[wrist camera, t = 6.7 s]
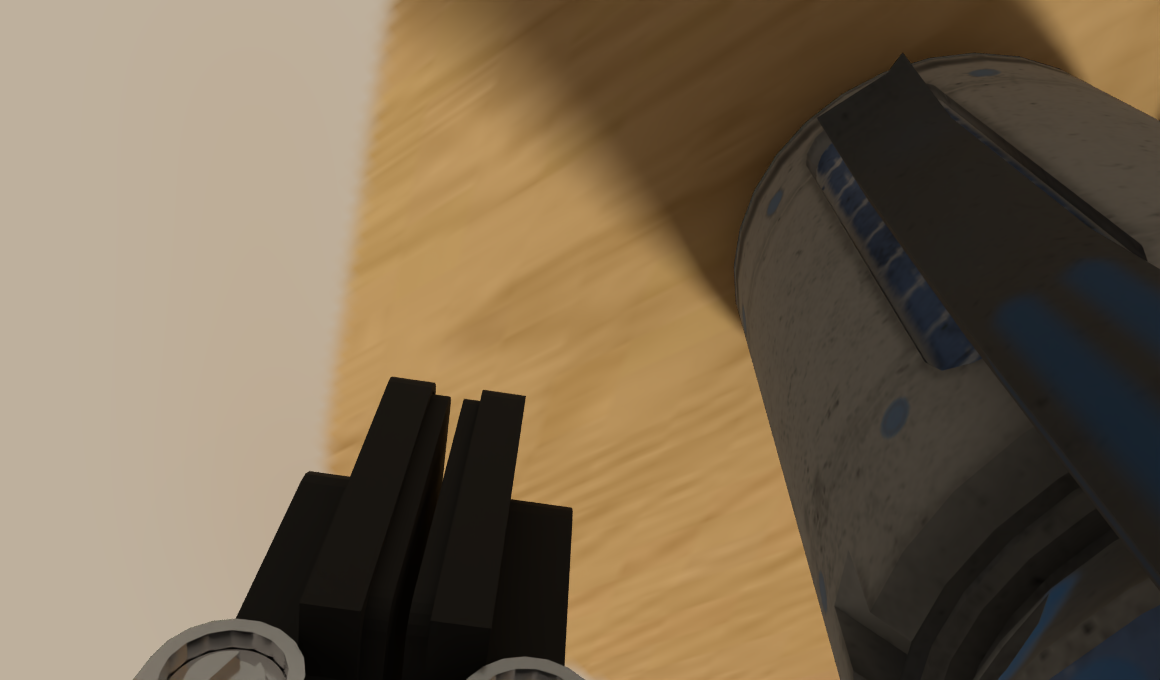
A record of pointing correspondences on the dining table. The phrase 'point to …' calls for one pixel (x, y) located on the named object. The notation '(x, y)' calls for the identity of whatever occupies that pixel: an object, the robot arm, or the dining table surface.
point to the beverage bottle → (967, 369)
